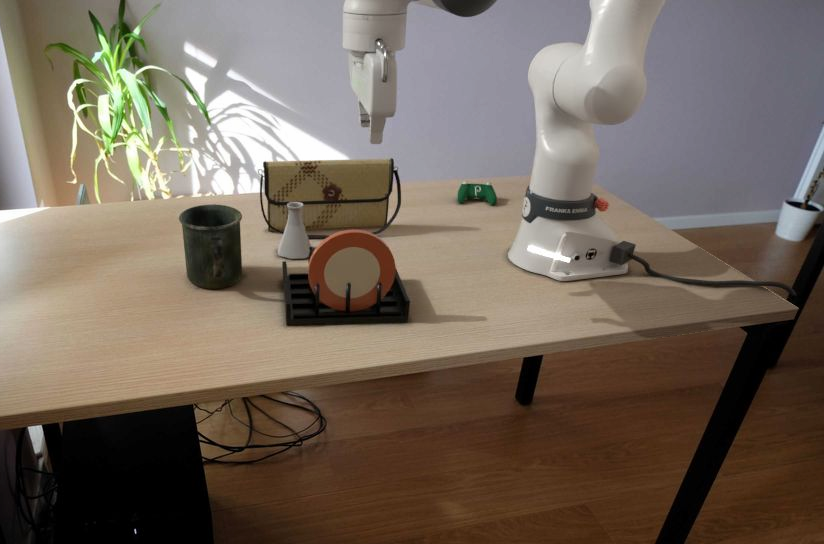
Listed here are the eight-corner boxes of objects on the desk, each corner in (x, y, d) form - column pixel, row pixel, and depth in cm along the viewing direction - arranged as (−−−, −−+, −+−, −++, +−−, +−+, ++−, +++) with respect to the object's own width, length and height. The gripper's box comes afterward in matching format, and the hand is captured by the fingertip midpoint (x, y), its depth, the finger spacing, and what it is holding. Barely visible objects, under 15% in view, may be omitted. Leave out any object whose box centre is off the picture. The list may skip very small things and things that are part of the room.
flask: (309, 262, 128) (309, 212, 123) (272, 258, 129) (271, 209, 124) (316, 247, 134) (317, 199, 129) (282, 243, 135) (281, 196, 130)
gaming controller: (494, 210, 159) (494, 187, 161) (497, 203, 156) (497, 179, 157) (455, 208, 160) (456, 185, 161) (458, 201, 156) (458, 178, 158)
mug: (239, 261, 127) (236, 202, 121) (253, 296, 115) (250, 232, 109) (182, 267, 125) (176, 206, 118) (190, 303, 113) (183, 238, 106)
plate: (386, 310, 111) (401, 233, 104) (387, 314, 110) (403, 236, 103) (303, 304, 109) (313, 225, 102) (303, 308, 108) (313, 228, 101)
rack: (390, 278, 122) (393, 243, 119) (408, 322, 109) (411, 283, 105) (282, 281, 121) (282, 245, 117) (286, 325, 107) (285, 286, 103)
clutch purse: (261, 241, 136) (259, 169, 128) (259, 228, 142) (256, 159, 134) (402, 235, 140) (408, 166, 132) (394, 223, 146) (399, 155, 138)
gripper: (411, 45, 84) (404, 153, 91) (383, 25, 102) (379, 117, 109) (362, 46, 84) (359, 154, 91) (342, 25, 101) (341, 118, 108)
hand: (370, 134), depth 100 cm, fingers open, 8 cm apart
